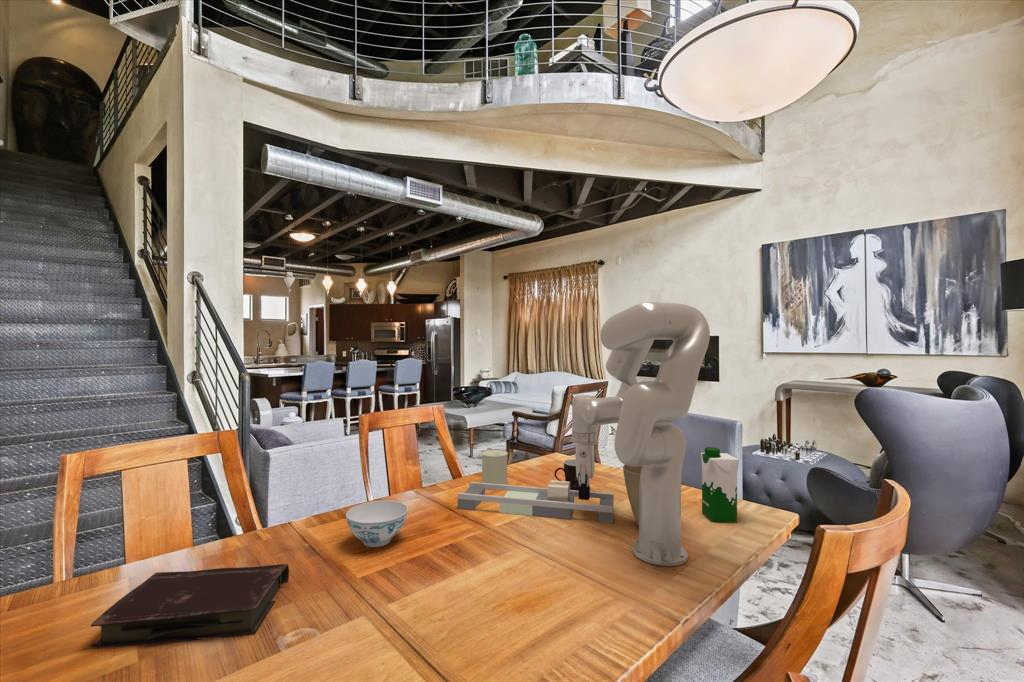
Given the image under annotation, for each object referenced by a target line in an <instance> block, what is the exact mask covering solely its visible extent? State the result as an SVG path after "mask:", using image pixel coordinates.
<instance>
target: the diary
mask: <svg viewBox="0 0 1024 682" xmlns="http://www.w3.org/2000/svg"><path fill="white" fill-rule="evenodd" d="M289 577H290V567H289V564H288V563H280V564H270V565H260V566H259V565H258V566H246V567H245V566H244V567H222V568H221V567H219V568H212V569H211V568H209V569H201V570H200V569H199V570H191V571H189V570H188V571H185V570H184V571H162V572H161V571H160V572H155V573H153V574H152V575H151V576H149V577H148V578H147V579H146V580H145V581H143V582H141V584H139V585H138V586H136V587H134V588H133V589H132V590H131V591H129V592H128V593H126V594H125V595H123V597H121V598H120V599H118V600H117V601H116V602H114V604H112V605H111V606H110V607H108V609H107V610H105V611H104V612H103V613H102V614H101V615H99V616H98V617H97V618H95V620H94V621H93V622H92V623H91V624H90V627H100V629H101V630H100V631H101V632H100V639H99V640H97V641H96V642H95V643H92V644H90V647H91V648H94V649H109V648H111V649H112V648H123V647H124V648H125V647H134V646H144V645H155V644H164V643H165V644H166V643H170V642H172V643H173V642H188V641H189V642H191V641H200V640H202V639H205V638H206V639H207V638H233V637H234V638H235V637H243V636H245V637H246V636H255V635H256V634H257V632H258V630H260V627H261V625H262V624H263V623H264V621H265V619H266V618H267V616H268V615H269V613H270V611H271V610H272V608H273V606H274V604H275V603H276V600H273V598H274V597H275V596H276V595H277V592H279V589H283V588H285V586H281V585H282V584H288V583H289Z"/></svg>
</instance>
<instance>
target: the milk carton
mask: <svg viewBox="0 0 1024 682" xmlns="http://www.w3.org/2000/svg"><path fill="white" fill-rule="evenodd" d="M700 458H701V459H700V460H701V468H702V469H701V513H702V514H703V515H704V516H705V517H706V518H707V519H708V520H709V521H710V522H711V523H738V469H739V461H740V459H738V458H737V457H734V456H732V455H731V454H729V453H727V452H725V453H724V452H723V453H722V452H721V449H720V448H718V447H712V446H708V447H705V448H704V452H701V453H700Z"/></svg>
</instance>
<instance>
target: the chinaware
mask: <svg viewBox="0 0 1024 682" xmlns="http://www.w3.org/2000/svg"><path fill="white" fill-rule="evenodd" d="M408 512H409V507H408V505H407V504H405V503H403V502H400V501H397V500H396V501H395V500H386V499H385V500H374V501H368V502H363V503H360V504H358V505H355V506H353V507H351V508H349V509H348V510H347V511H346V513H345V518H346V522H347V525H348V528H349V529H350V532H351V533H352V534H353V535H354V536H355V537H356V538H357V539H359V541H361V542H363V545H364V546H365V547H370V548H380V547H384V546H386V545H388V544H390V542H391V541H392V539H393V537H395V536H396V535H397V534H398V533H399V532H400V531H401V529H402V528H403V526H404V524H405V522H406V520H407V515H408Z"/></svg>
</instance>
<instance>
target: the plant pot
mask: <svg viewBox="0 0 1024 682" xmlns="http://www.w3.org/2000/svg"><path fill="white" fill-rule="evenodd" d="M642 467H643V466H639V467H631V466H627V465H625V464H623V465H622V472H623V476H624V483H625V485H624V486H625V489H626V492H627V497H628V501H629V505H630V508H631V511H632V515H633V517H634V520H635V522H636V523H635V524H636V526H637V527H638V526H639V481H640V474H641V470H642Z"/></svg>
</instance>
